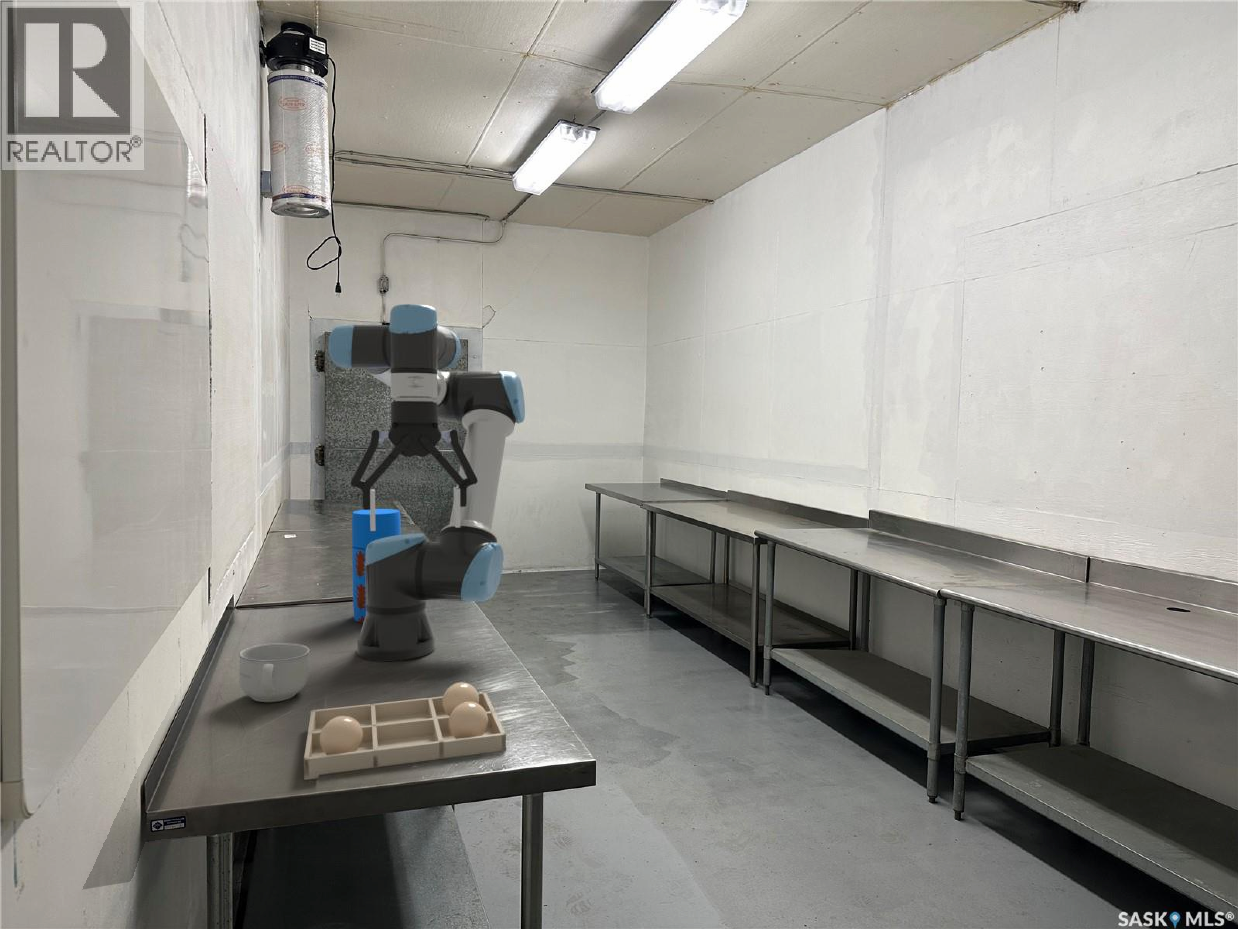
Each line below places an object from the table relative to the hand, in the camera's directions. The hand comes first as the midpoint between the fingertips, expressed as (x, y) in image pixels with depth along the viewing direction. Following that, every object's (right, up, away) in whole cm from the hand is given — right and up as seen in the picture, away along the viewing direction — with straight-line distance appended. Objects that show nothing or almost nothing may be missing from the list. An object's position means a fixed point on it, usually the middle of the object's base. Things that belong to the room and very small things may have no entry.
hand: (415, 528), depth 129 cm
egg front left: (+12, -29, -17) cm, 36 cm away
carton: (+3, -30, -16) cm, 34 cm away
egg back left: (+9, -29, -9) cm, 32 cm away
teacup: (-24, -29, 0) cm, 37 cm away
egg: (-4, -30, -23) cm, 37 cm away
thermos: (-23, -26, +53) cm, 63 cm away
